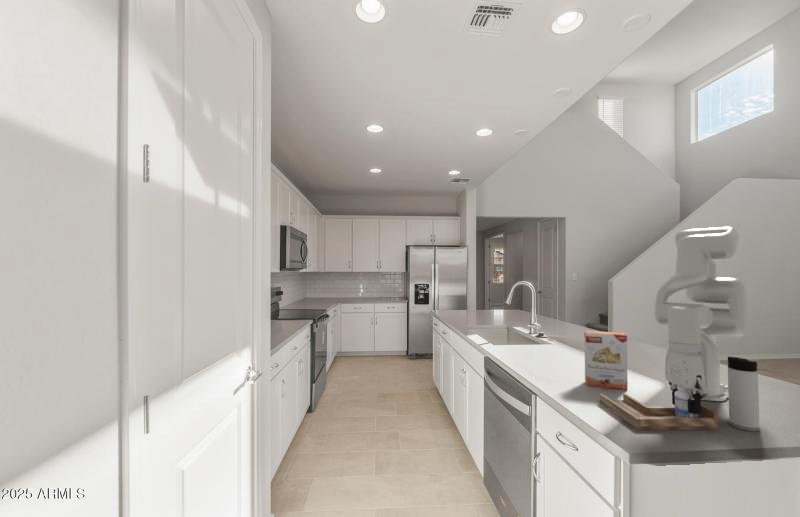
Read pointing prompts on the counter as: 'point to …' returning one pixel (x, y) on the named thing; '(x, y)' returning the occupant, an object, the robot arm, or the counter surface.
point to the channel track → (659, 416)
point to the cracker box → (606, 359)
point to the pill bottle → (682, 404)
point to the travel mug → (743, 394)
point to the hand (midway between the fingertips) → (686, 408)
